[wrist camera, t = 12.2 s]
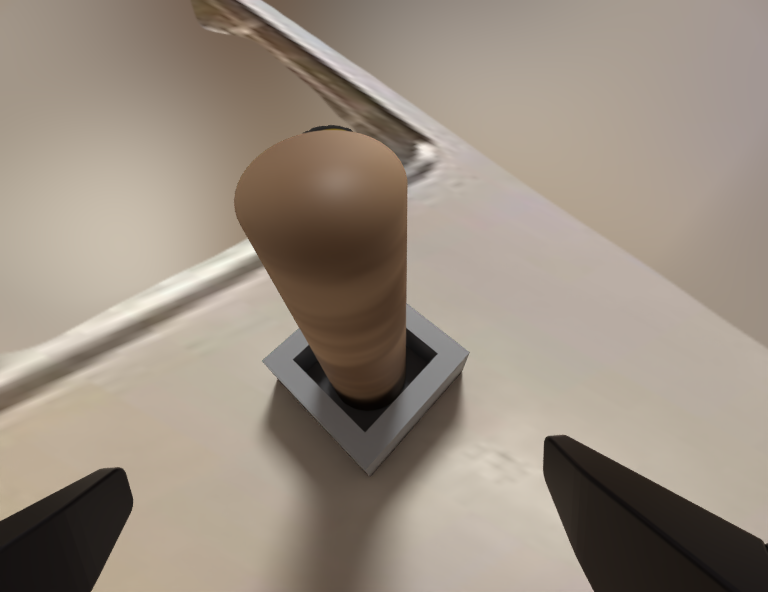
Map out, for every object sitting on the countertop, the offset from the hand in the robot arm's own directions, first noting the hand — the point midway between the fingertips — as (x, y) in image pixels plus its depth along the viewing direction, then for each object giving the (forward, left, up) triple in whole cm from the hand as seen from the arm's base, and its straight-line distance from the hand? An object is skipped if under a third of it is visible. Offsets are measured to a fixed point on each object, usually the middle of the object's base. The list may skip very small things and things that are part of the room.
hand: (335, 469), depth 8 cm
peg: (+5, +5, -13) cm, 15 cm away
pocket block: (+5, +5, -14) cm, 15 cm away
